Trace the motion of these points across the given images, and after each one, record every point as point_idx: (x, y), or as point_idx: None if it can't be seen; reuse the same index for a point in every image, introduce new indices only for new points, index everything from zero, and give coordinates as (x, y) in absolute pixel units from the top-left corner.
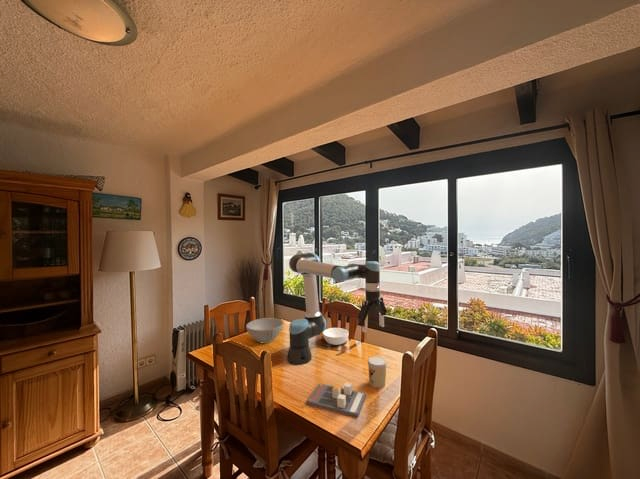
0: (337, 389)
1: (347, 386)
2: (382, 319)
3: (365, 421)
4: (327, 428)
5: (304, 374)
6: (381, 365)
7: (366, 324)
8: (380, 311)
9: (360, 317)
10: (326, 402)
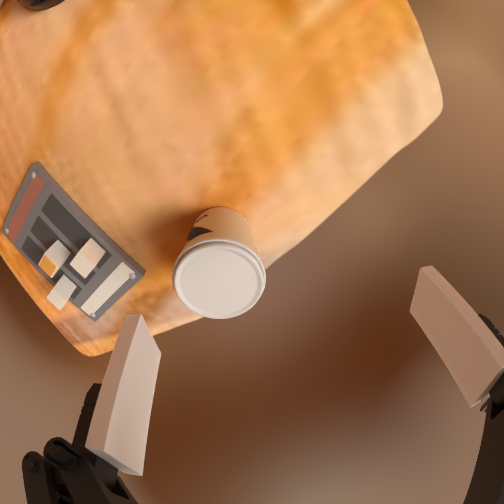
0: (48, 275)
1: (78, 272)
2: (451, 363)
3: (110, 329)
4: (40, 307)
5: (25, 76)
6: (212, 317)
7: (147, 429)
8: (492, 440)
9: (53, 490)
10: (36, 258)
